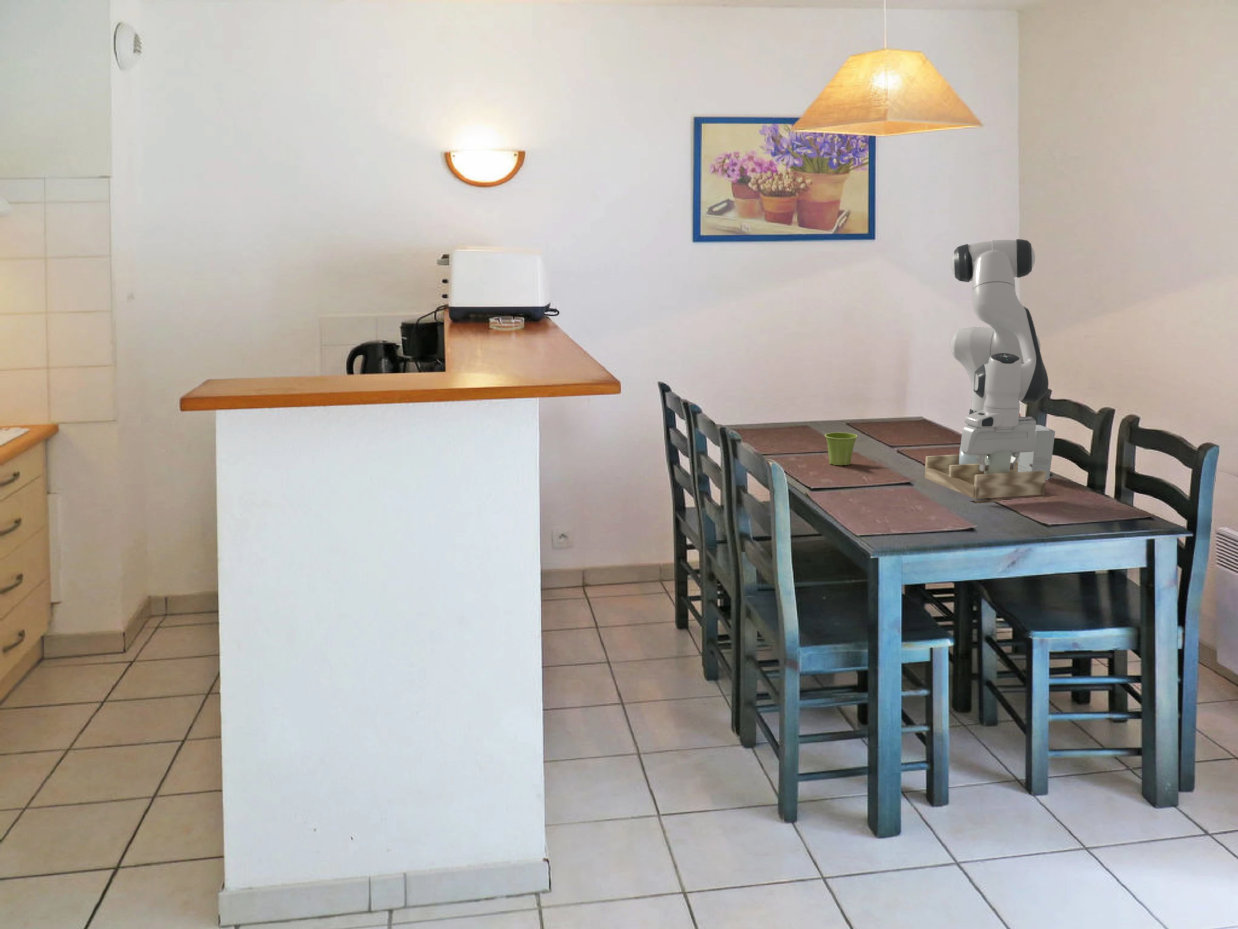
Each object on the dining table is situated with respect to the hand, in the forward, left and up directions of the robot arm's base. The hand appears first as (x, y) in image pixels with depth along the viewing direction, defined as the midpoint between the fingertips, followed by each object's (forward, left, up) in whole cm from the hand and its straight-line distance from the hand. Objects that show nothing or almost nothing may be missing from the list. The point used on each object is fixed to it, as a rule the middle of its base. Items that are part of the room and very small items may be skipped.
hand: (996, 470), depth 289 cm
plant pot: (+22, -46, -7) cm, 51 cm away
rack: (0, -6, -7) cm, 9 cm away
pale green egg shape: (0, 0, -4) cm, 4 cm away
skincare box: (-21, -14, -7) cm, 26 cm away
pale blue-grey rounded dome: (0, -12, -6) cm, 13 cm away
